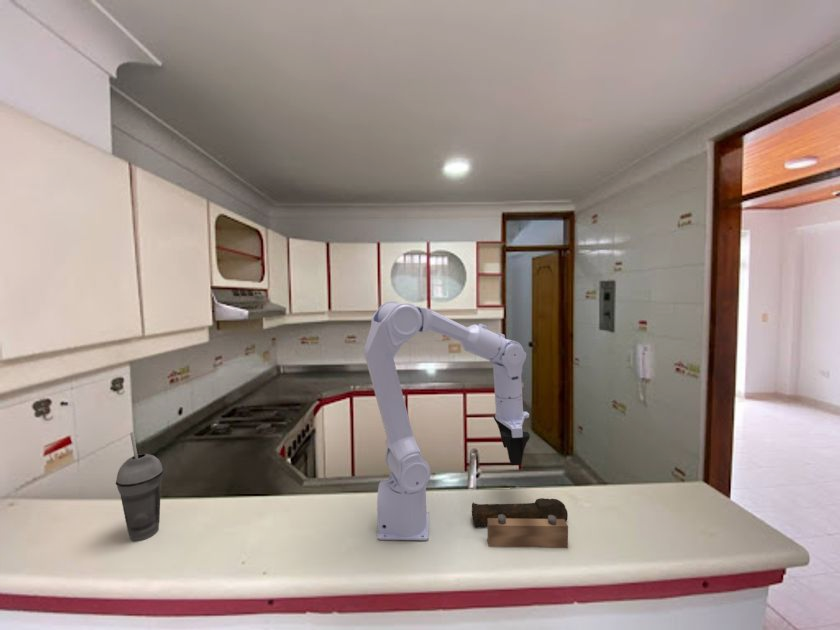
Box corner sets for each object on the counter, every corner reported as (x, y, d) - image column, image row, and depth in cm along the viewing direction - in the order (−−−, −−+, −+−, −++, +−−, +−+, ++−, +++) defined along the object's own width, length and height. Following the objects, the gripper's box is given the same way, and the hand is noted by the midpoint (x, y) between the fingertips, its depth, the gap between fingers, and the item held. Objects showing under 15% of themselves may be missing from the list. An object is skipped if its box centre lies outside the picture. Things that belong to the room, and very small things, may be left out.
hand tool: (473, 530, 69) (473, 507, 69) (470, 517, 73) (470, 495, 73) (572, 532, 69) (572, 508, 68) (564, 518, 73) (565, 496, 72)
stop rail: (488, 546, 65) (488, 519, 64) (487, 538, 67) (487, 513, 66) (567, 547, 64) (568, 520, 64) (563, 539, 66) (564, 513, 66)
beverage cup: (143, 548, 65) (135, 442, 64) (109, 544, 67) (101, 439, 65) (176, 523, 72) (170, 426, 71) (145, 519, 74) (138, 424, 72)
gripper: (536, 405, 69) (540, 471, 71) (519, 383, 84) (522, 439, 85) (500, 407, 70) (504, 473, 71) (489, 385, 84) (492, 440, 85)
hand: (511, 455), depth 78 cm, fingers open, 7 cm apart
